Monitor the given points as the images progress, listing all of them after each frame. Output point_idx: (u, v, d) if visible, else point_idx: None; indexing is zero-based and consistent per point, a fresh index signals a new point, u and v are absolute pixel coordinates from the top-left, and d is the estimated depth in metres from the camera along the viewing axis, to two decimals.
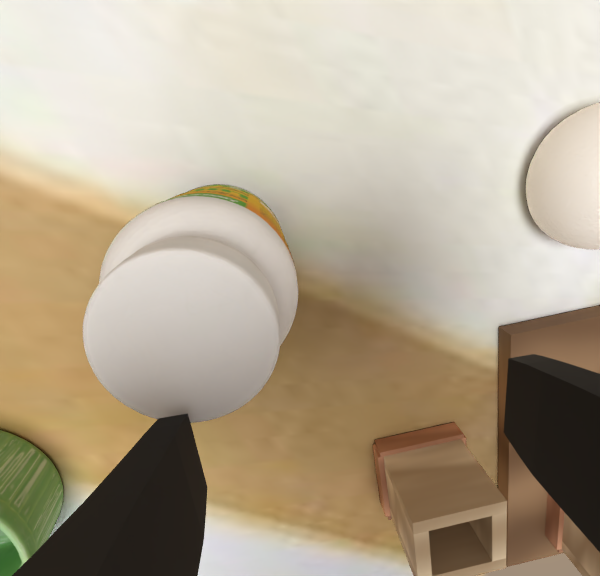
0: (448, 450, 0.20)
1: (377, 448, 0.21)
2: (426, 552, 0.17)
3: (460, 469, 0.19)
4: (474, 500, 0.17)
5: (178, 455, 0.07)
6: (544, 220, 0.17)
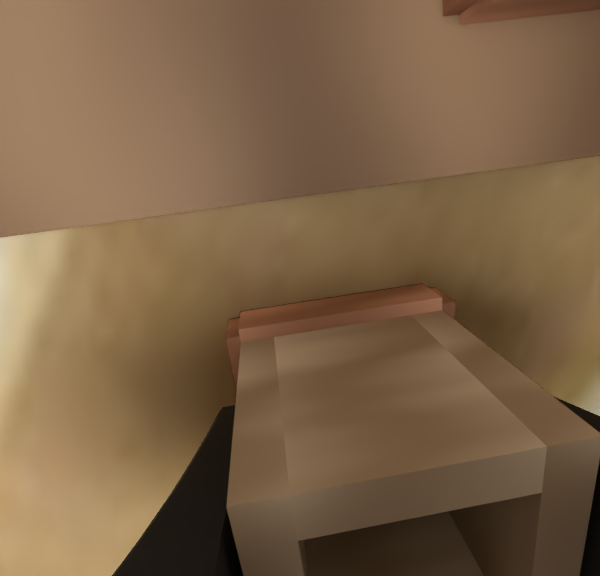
0: None
1: None
2: None
3: None
4: None
5: None
6: None
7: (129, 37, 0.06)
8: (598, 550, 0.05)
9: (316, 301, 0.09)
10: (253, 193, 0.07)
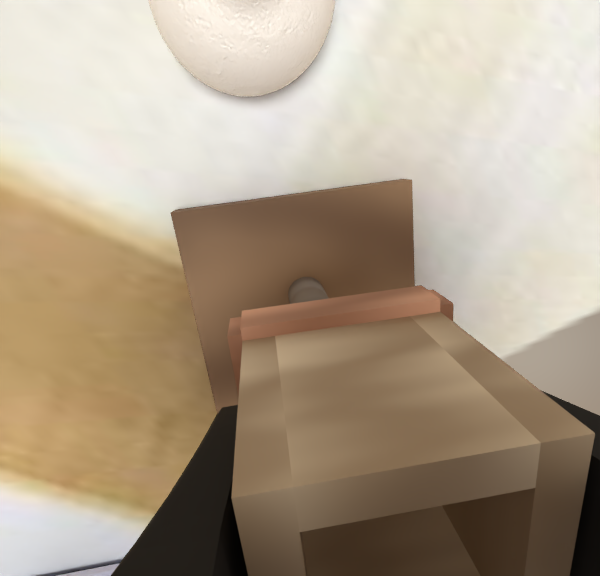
0: None
1: None
2: None
3: None
4: None
5: None
6: (168, 46, 0.13)
7: None
8: (599, 550, 0.05)
9: (316, 301, 0.09)
10: (207, 355, 0.17)
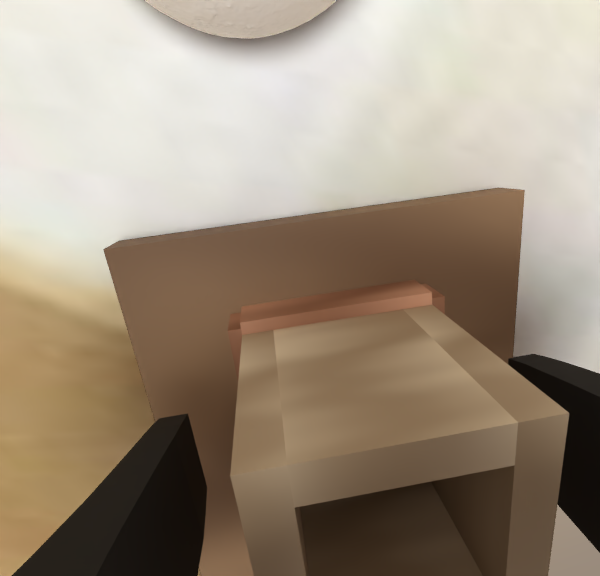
0: None
1: None
2: None
3: None
4: None
5: (178, 455, 0.07)
6: None
7: None
8: None
9: (313, 296, 0.09)
10: None
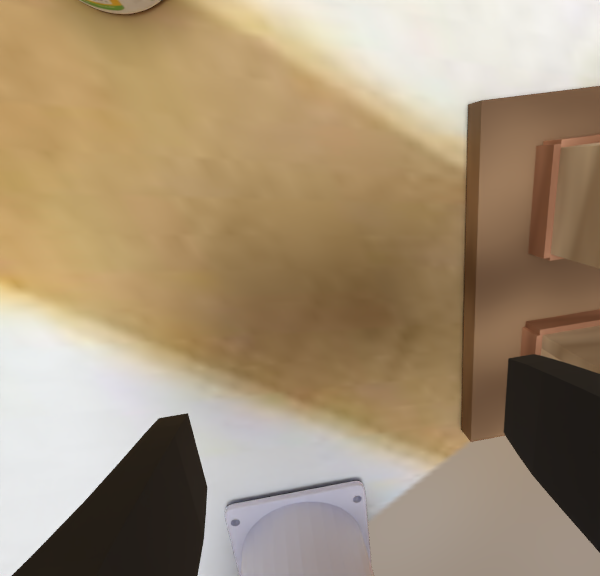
0: (569, 173, 0.15)
1: (538, 255, 0.17)
2: None
3: (597, 175, 0.13)
4: None
5: (178, 455, 0.07)
6: None
7: None
8: None
9: None
10: (480, 257, 0.17)
